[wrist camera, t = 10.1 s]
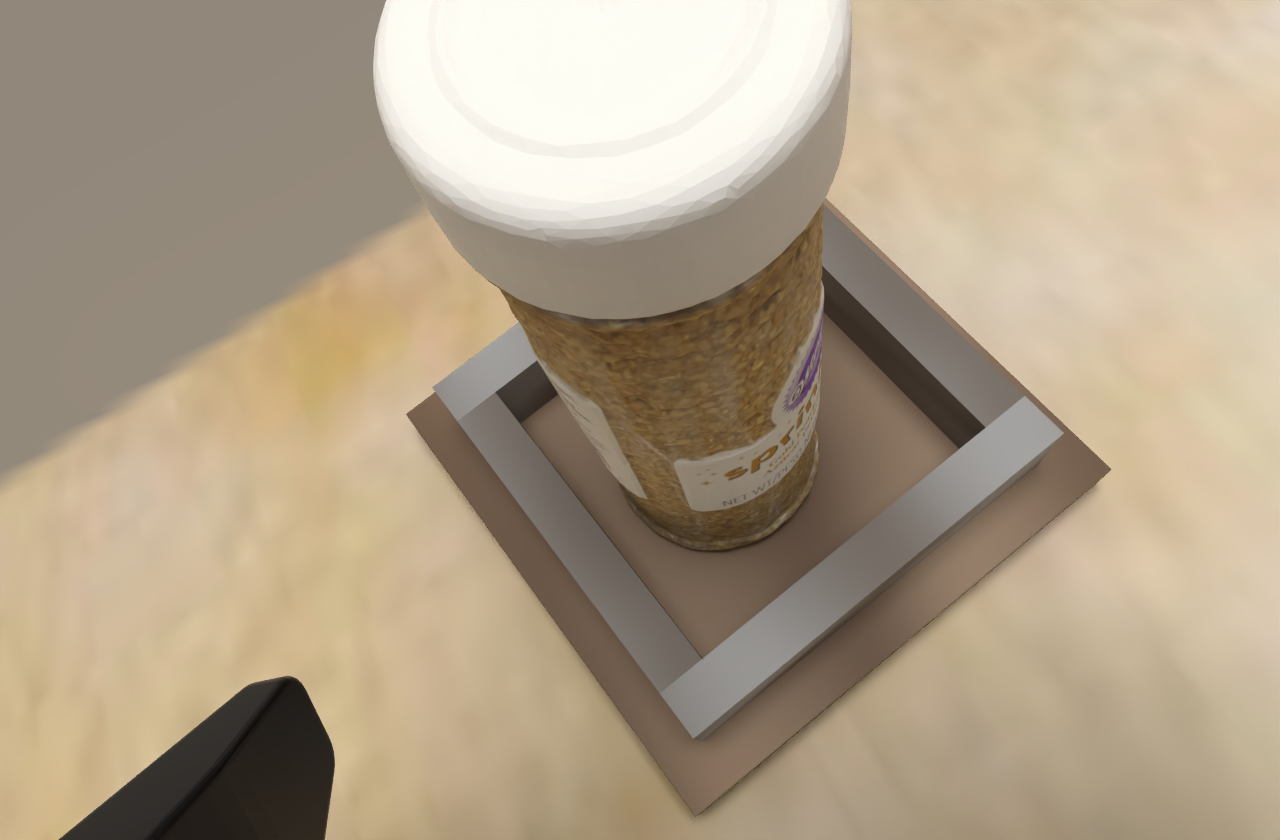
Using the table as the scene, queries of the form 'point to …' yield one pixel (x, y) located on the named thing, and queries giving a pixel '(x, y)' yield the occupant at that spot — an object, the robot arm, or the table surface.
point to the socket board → (792, 555)
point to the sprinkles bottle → (644, 222)
